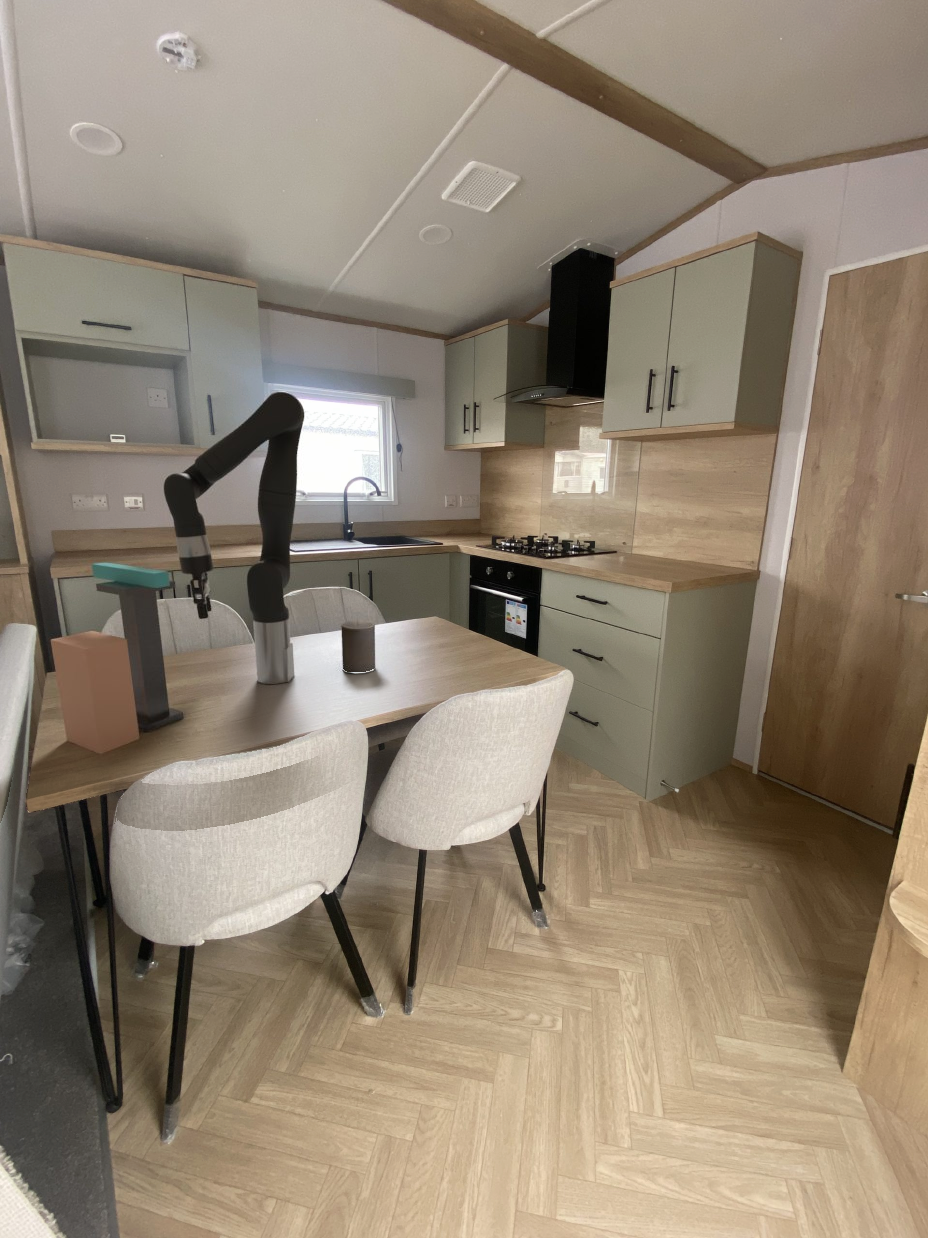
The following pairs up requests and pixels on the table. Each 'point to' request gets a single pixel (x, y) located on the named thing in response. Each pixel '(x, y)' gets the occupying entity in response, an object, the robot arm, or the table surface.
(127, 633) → the stand
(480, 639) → the table surface
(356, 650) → the pillar candle
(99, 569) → the teal bar
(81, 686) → the base block
